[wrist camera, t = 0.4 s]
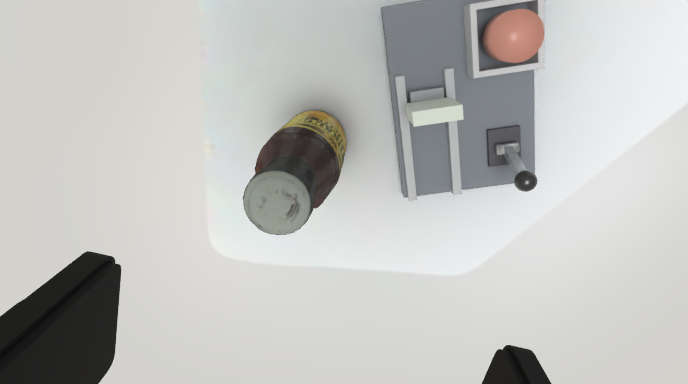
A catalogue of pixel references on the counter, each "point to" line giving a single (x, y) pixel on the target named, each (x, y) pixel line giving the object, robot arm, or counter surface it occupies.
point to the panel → (458, 94)
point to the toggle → (517, 166)
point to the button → (513, 35)
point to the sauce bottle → (295, 172)
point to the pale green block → (432, 107)
